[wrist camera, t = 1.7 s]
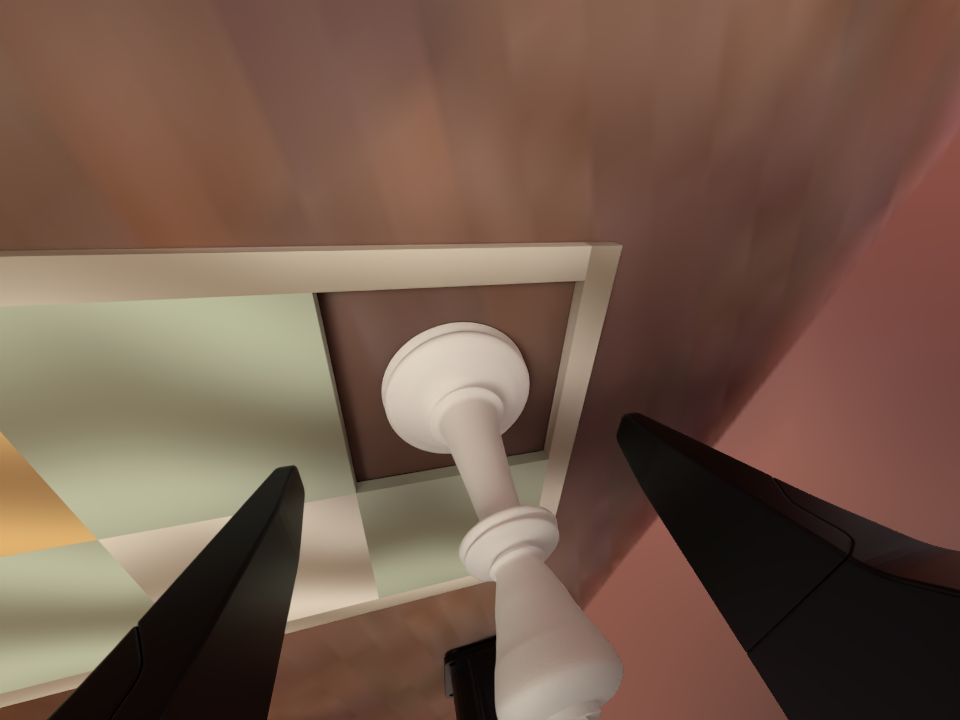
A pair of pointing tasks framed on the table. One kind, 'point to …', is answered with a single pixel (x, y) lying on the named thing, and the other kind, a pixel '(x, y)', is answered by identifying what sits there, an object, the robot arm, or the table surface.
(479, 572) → the chess piece
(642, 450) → the robot arm
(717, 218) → the table surface
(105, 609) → the game board
